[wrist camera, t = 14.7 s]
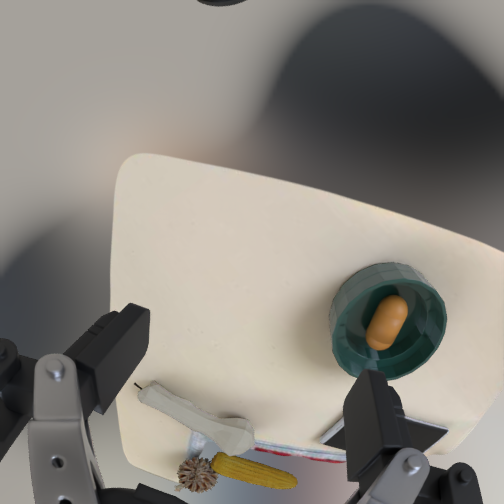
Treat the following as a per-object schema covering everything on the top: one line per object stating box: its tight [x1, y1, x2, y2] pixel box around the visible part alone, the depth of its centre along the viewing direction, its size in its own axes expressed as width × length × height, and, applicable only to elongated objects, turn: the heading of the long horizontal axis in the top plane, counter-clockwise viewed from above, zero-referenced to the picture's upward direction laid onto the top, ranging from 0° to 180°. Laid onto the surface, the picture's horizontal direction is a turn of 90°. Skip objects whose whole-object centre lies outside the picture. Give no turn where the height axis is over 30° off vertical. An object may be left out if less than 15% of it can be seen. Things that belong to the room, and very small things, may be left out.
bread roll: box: [365, 295, 408, 350], centre depth 38 cm, size 8×4×4 cm, turn 166°
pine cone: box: [175, 457, 218, 493], centre depth 56 cm, size 22×10×10 cm, turn 155°
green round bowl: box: [329, 262, 447, 381], centre depth 37 cm, size 16×16×6 cm
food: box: [210, 452, 297, 489], centre depth 53 cm, size 21×6×6 cm, turn 67°
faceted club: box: [134, 381, 254, 456], centre depth 48 cm, size 9×8×25 cm
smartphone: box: [320, 416, 449, 454], centre depth 47 cm, size 13×27×2 cm, turn 65°
